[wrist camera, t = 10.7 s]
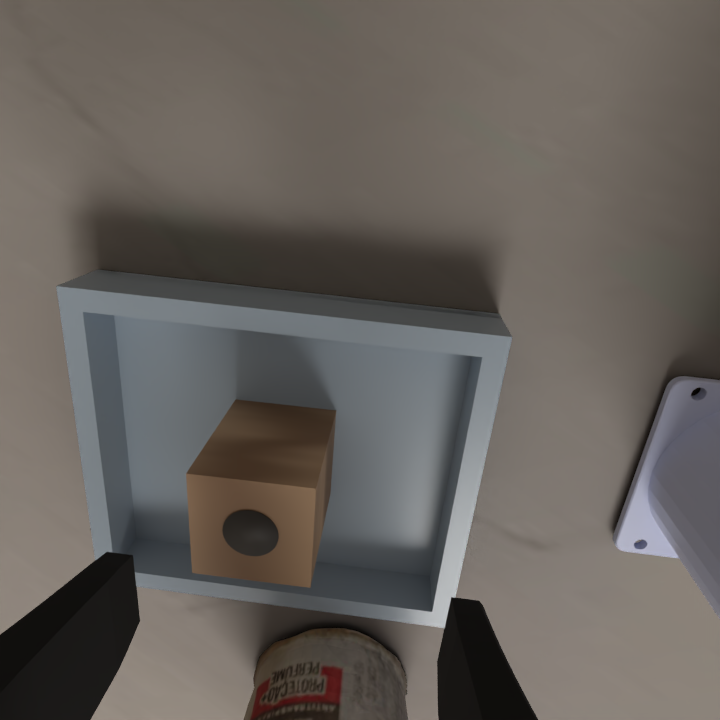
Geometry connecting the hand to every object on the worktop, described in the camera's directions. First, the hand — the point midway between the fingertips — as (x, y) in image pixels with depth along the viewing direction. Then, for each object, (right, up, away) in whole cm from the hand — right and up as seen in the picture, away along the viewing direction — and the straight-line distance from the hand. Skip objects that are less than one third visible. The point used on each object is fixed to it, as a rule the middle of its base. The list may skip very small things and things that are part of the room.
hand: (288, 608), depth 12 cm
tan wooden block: (-1, +2, +9) cm, 10 cm away
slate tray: (-1, +2, +10) cm, 10 cm away
